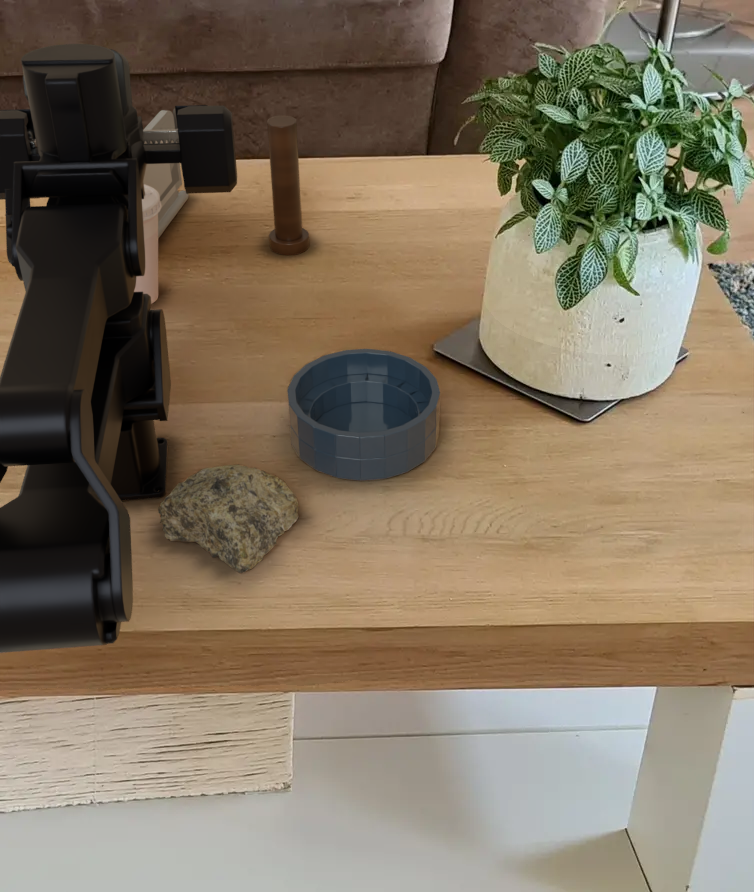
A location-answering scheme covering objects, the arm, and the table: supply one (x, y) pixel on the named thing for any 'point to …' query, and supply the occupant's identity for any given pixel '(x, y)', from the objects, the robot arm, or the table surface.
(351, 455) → the bowl
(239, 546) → the rock
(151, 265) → the smoothie
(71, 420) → the robot arm
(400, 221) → the table surface
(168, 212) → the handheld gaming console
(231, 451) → the table surface
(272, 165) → the brown wooden peg
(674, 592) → the table surface
